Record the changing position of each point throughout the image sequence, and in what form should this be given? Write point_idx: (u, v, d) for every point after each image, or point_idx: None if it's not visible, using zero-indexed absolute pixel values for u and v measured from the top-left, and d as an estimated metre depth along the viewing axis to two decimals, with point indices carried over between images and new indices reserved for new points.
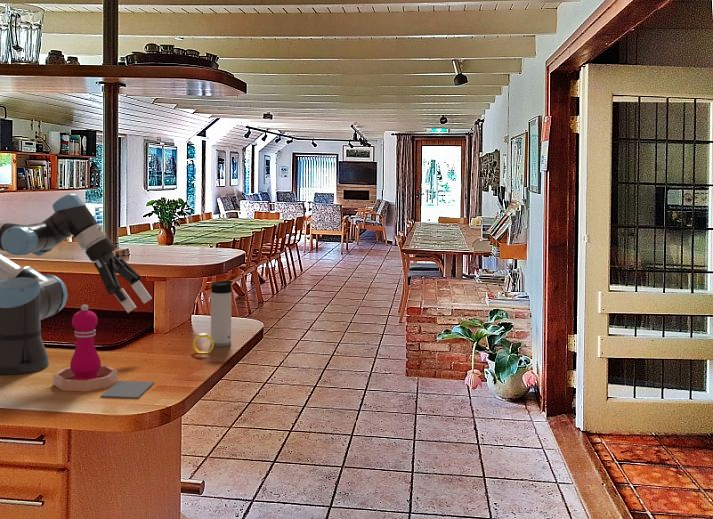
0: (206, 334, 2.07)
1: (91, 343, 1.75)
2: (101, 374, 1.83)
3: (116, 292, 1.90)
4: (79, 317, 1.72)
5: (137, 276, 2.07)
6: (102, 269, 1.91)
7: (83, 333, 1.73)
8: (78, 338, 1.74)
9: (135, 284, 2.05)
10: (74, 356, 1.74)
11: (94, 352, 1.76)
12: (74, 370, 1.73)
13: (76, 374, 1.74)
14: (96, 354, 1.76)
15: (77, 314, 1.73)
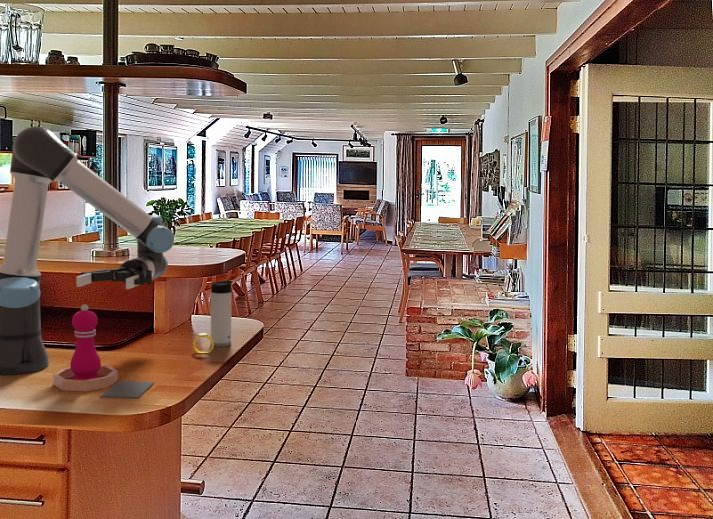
0: (206, 334, 2.07)
1: (91, 343, 1.75)
2: (101, 374, 1.83)
3: (142, 280, 1.89)
4: (79, 317, 1.72)
5: None
6: None
7: (83, 333, 1.73)
8: (78, 338, 1.74)
9: (90, 278, 1.90)
10: (74, 356, 1.74)
11: (94, 352, 1.76)
12: (74, 370, 1.73)
13: (76, 374, 1.74)
14: (96, 354, 1.76)
15: (77, 314, 1.73)
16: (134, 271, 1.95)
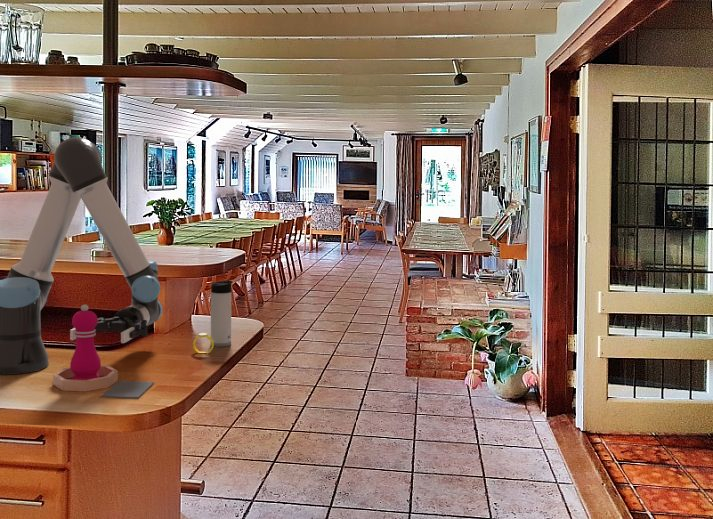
0: (206, 334, 2.07)
1: (91, 343, 1.75)
2: (101, 374, 1.83)
3: (138, 332, 1.85)
4: (79, 317, 1.72)
5: None
6: None
7: (83, 333, 1.73)
8: (78, 338, 1.74)
9: None
10: (74, 356, 1.74)
11: (94, 352, 1.76)
12: (74, 370, 1.73)
13: (76, 374, 1.74)
14: (96, 354, 1.76)
15: (77, 314, 1.73)
16: (129, 321, 1.91)
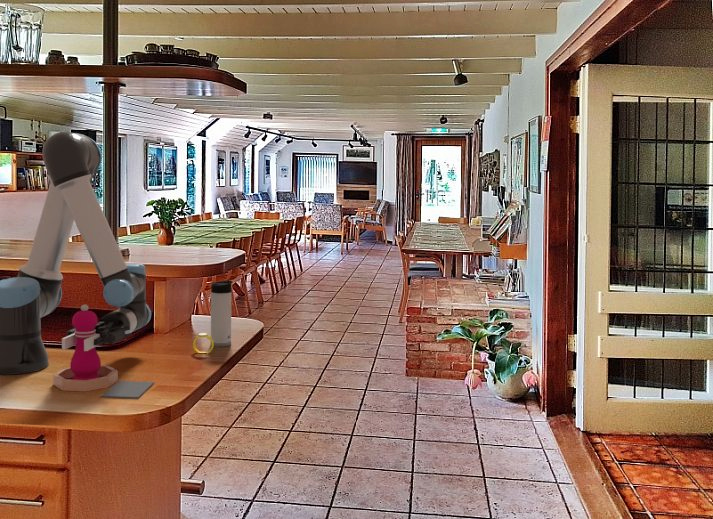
0: (206, 334, 2.07)
1: None
2: (101, 374, 1.83)
3: (103, 339, 1.76)
4: (79, 317, 1.72)
5: None
6: (123, 333, 1.84)
7: (83, 333, 1.73)
8: (78, 338, 1.74)
9: None
10: (74, 356, 1.74)
11: (94, 352, 1.76)
12: (74, 370, 1.73)
13: (76, 374, 1.74)
14: (96, 354, 1.76)
15: (77, 314, 1.73)
16: (107, 327, 1.83)
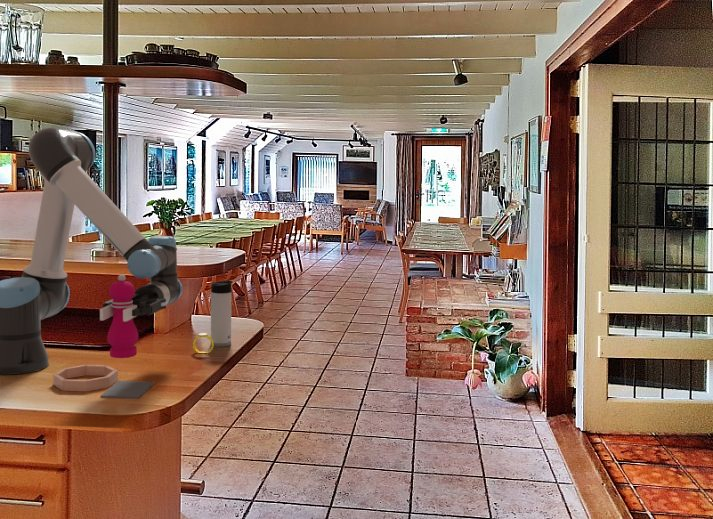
0: (206, 334, 2.07)
1: None
2: (101, 374, 1.83)
3: (141, 310, 1.71)
4: (116, 287, 1.68)
5: None
6: (160, 305, 1.79)
7: (121, 304, 1.68)
8: (116, 309, 1.69)
9: None
10: (112, 328, 1.69)
11: (132, 323, 1.71)
12: (112, 342, 1.69)
13: (114, 346, 1.69)
14: (134, 326, 1.71)
15: (114, 284, 1.68)
16: (143, 299, 1.78)
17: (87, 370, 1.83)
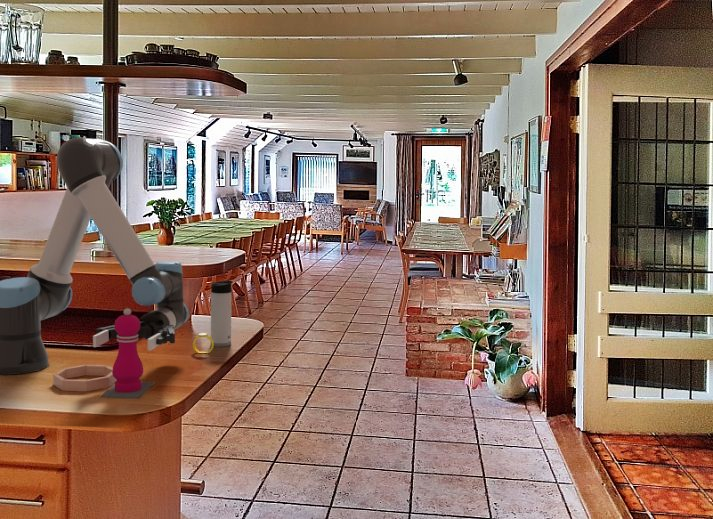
0: (206, 334, 2.07)
1: (134, 348, 1.70)
2: (101, 374, 1.83)
3: (165, 338, 1.72)
4: (122, 321, 1.67)
5: None
6: None
7: (126, 338, 1.68)
8: (121, 343, 1.69)
9: (107, 335, 1.74)
10: (117, 362, 1.69)
11: (137, 357, 1.70)
12: (117, 376, 1.68)
13: (119, 380, 1.69)
14: (139, 359, 1.71)
15: (120, 318, 1.68)
16: (155, 327, 1.78)
17: (87, 370, 1.83)
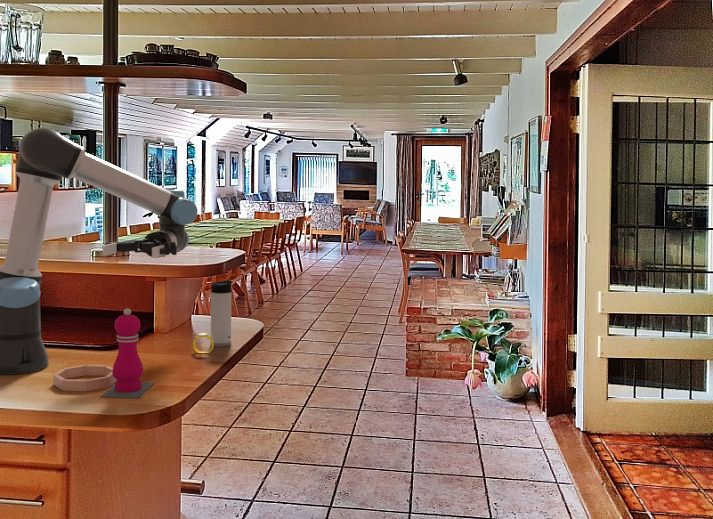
0: (206, 334, 2.07)
1: (134, 348, 1.70)
2: (101, 374, 1.83)
3: (167, 250, 1.91)
4: (122, 321, 1.67)
5: None
6: None
7: (126, 338, 1.68)
8: (121, 343, 1.69)
9: (115, 248, 1.92)
10: (117, 362, 1.69)
11: (137, 357, 1.70)
12: (117, 376, 1.68)
13: (119, 380, 1.69)
14: (139, 359, 1.71)
15: (120, 318, 1.68)
16: (158, 242, 1.97)
17: (87, 370, 1.83)
